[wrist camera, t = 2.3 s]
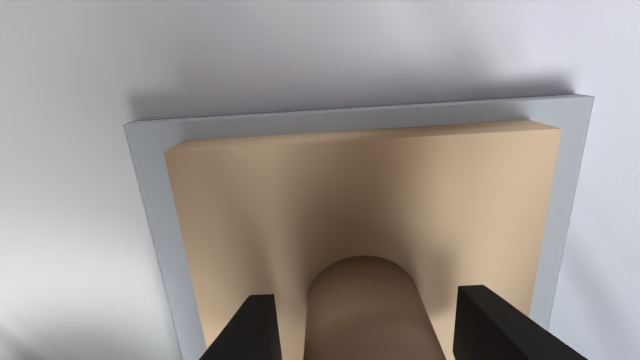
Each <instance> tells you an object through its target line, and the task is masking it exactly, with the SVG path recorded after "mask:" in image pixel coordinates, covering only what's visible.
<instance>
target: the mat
mask: <svg viewBox="0 0 640 360" xmlns="http://www.w3.org/2000/svg"><path fill="white" fill-rule="evenodd" d="M593 101H594V96H588V95H580V94H573V95H556V96H540V97H523V98H507V99H490V100H474V101H457V102H441V103H425V104H408V105H392V106H375V107H359V108H342V109H326V110H310V111H293V112H277V113H260V114H244V115H227V116H211V117H195V118H178V119H162V120H145V121H134V122H131V123H128V124H125V125H124V129H125V133H126V137H127V141H128V145H129V149H130V153H131V157H132V161H133V165H134V169H135V172H136V176H137V180H138V184H139V188H140V192H141V196H142V200H143V204H144V208H145V212H146V216H147V220H148V224H149V228H150V232H151V236H152V239H153V243H154V247H155V251H156V255H157V259H158V263H159V267H160V271H161V275H162V279H163V283H164V287H165V291H166V295H167V299H168V303H169V306H170V310H171V314H172V318H173V322H174V326H175V330H176V334H177V338H178V342H179V346H180V350H181V354H182V358H183V360H199V358H200V357H201V356H202V355H203V354H204V352H205V351H206V350H207V347H206V343H205V338H204V334H203V329H202V325H201V320H200V316H199V311H198V307H197V302H196V298H195V293H194V288H193V284H192V279H191V275H190V270H189V266H188V261H187V257H186V252H185V248H184V243H183V239H182V234H181V230H180V225H179V220H178V216H177V211H176V207H175V202H174V198H173V193H172V189H171V184H170V180H169V175H168V171H167V166H166V162H165V157H164V151H165V150H167V149H169V148H171V147H173V146H174V145H176V144H178V143H180V142H182V141H184V140H198V139H215V138H232V137H249V136H266V135H283V134H300V133H317V132H334V131H351V130H368V129H385V128H402V127H419V126H436V125H453V124H470V123H487V122H504V121H521V120H532V121H536V122H540V123H543V124H547V125H551V126H554V127H558V128H561V129H562V130H561V136H560V142H559V147H558V153H557V159H556V165H555V170H554V176H553V182H552V187H551V193H550V199H549V205H548V210H547V216H546V222H545V227H544V233H543V239H542V244H541V250H540V256H539V262H538V267H537V273H536V279H535V284H534V290H533V296H532V302H531V307H530V313H529V318H530V319H531V320H533V321H534V322H536V323H537V324H538V325H540V326H541V327H542V328H544V329H545V330H548V325H549V320H550V315H551V310H552V305H553V300H554V295H555V291H556V286H557V281H558V276H559V271H560V266H561V261H562V256H563V251H564V246H565V241H566V236H567V231H568V226H569V221H570V216H571V211H572V206H573V201H574V196H575V191H576V186H577V181H578V176H579V171H580V166H581V161H582V156H583V151H584V146H585V141H586V136H587V131H588V126H589V121H590V116H591V111H592V106H593Z"/></svg>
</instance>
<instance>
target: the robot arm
mask: <svg viewBox="0 0 640 360" xmlns="http://www.w3.org/2000/svg"><path fill="white" fill-rule="evenodd" d="M452 351H453V354H454V357H455V360H588V359H586V358H585V357H583V356H582V355H580V354H579V353H578V352H576V351H575V350H573V349H572V348H570V347H569V346H568V345H566V344H565V343H563V342H562V341H560V340H559V339H558V338H556V337H555V336H553V335H552V334H551V333H549V332H548V331H547V330H545V329H544V328H542V327H541V326H540V325H538V324H537V323H536V322H534V321H533V320H531V319H530V318H529V317H527V316H526V315H525V314H523V313H522V312H521V311H519V310H518V309H516V308H515V307H514V306H512V305H511V304H510V303H508V302H507V301H506V300H504V299H503V298H502V297H500V296H499V295H497V294H496V293H495V292H493V291H492V290H490V289H489V288H487V287H486V286H485V285H466V286H458V293H457V304H456V316H455V327H454V339H453V350H452ZM199 360H282V352H281V344H280V337H279V329H278V321H277V313H276V305H275V298H274V294H262V295H249V297H248V298H247V299H246V300H245V301H244V302H243V304H242V305H241V306H240V308H239V309H238V310H237V312H236V313H235V314H234V316H233V317H232V318H231V320H230V321H229V322H228V323H227V325H226V326H225V327H224V329H223V330H222V331H221V332H220V334H219V335H218V336H217V338H216V339H215V340H214V341H213V343H212V344H211V345H210V346H209V347H208V349H207V350H206V351H205V352H204V354H203V355H202V356H201V357H200V358H199Z"/></svg>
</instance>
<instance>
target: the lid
mask: <svg viewBox="0 0 640 360" xmlns="http://www.w3.org/2000/svg"><path fill="white" fill-rule="evenodd" d="M561 130H562V129H561V128H558V127H554V126H551V125H547V124H543V123H540V122H536V121H532V120H521V121H504V122H487V123H470V124H453V125H436V126H419V127H402V128H385V129H368V130H351V131H334V132H317V133H300V134H283V135H266V136H249V137H232V138H215V139H198V140H184V141H182V142H180V143H178V144H176V145H174V146H173V147H171V148H169V149H167V150H165V151H164V157H165V162H166V166H167V171H168V175H169V180H170V184H171V189H172V193H173V198H174V202H175V207H176V211H177V216H178V220H179V225H180V230H181V234H182V239H183V243H184V248H185V252H186V257H187V261H188V266H189V270H190V275H191V279H192V284H193V288H194V293H195V298H196V302H197V307H198V311H199V316H200V320H201V325H202V329H203V334H204V338H205V343H206V347H207V349H208V347H209V346H210V345H211V344H212V343H213V341H214V340H215V339H216V338H217V336H218V335H219V334H220V332H221V331H222V330H223V329H224V327H225V326H226V325H227V323H228V322H229V321H230V320H231V318H232V317H233V316H234V314H235V313H236V312H237V310H238V309H239V308H240V306H241V305H242V304H243V302H244V301H245V300H246V299H247V298H248V297H249V295H262V294H274V298H275V305H276V313H277V321H278V329H279V337H280V344H281V352H282V360H455V357H454V354H453V351H452V350H453V339H454V327H455V316H456V304H457V293H458V286H466V285H485V286H486V287H487V288H489V289H490V290H492V291H493V292H495V293H496V294H497V295H499V296H500V297H502V298H503V299H504V300H506V301H507V302H508V303H510V304H511V305H512V306H514V307H515V308H516V309H518V310H519V311H521V312H522V313H523V314H525V315H526V316H527V317H529V313H530V307H531V302H532V296H533V290H534V284H535V279H536V273H537V267H538V262H539V256H540V250H541V244H542V239H543V233H544V227H545V222H546V216H547V210H548V205H549V199H550V193H551V187H552V182H553V176H554V170H555V165H556V159H557V153H558V147H559V142H560V136H561Z"/></svg>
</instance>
